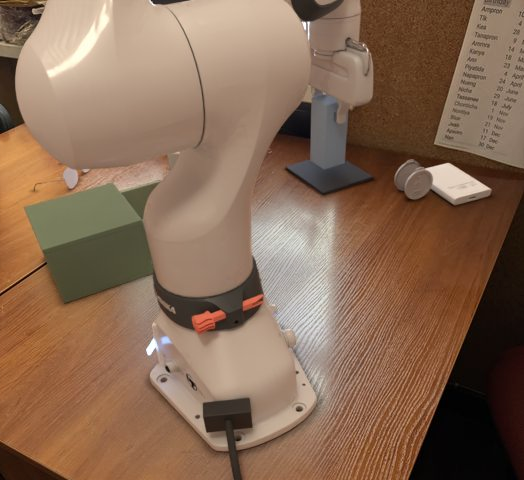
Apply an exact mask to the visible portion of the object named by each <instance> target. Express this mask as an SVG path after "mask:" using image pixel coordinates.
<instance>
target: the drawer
mask: <svg viewBox="0 0 524 480" xmlns="http://www.w3.org/2000/svg"><path fill="white" fill-rule="evenodd" d="M167 175H168V174H165V177H166V176H167ZM161 181H162V180H161V179H157V180H154V181H151V182H147V183H143V184H139V185H136V186H132V187H128V188H125V189H122V190H119V191H120V192H121V194H122V195H123V196H124V198H125V199H126V200H127V202H128V203H129V204H130V205H131V207H132V208H133V209H134V211H135V212H136V213H137V215H138V216H139V217H140V219H141V220H142V223H143V215H144V210H145V205H146V202H147V200H148V197H149V195H150V194H151V192H152V191H153V189H154V188H155V187H156V186H157V185H158V184H159V183H160V182H161ZM143 228H144V224H143ZM144 232H145V229H144ZM145 236H146V233H145ZM146 240H147V237H146ZM147 244H148V241H147ZM148 248H149V245H148ZM149 252H150V249H149ZM150 256H151V254H150ZM151 260H152V258H151Z"/></svg>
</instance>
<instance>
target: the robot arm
mask: <svg viewBox="0 0 524 480" xmlns="http://www.w3.org/2000/svg"><path fill="white" fill-rule="evenodd" d="M361 16H362V5H361V0H185V1H179V2H173V3H168V4H161V3H158V4H157V3H155V4H154V3H153V1H151V0H46V3H45V5H44V9H43V12H42V14H41V16H40V19H39V21H38V23H37V25H36V26H35V28H34V30H33V31H32V33H31V34H30V36H29V37H28V38H27V39H26V41H25V42H24V44H23V47H22V48H21V50H20V54H19V56H18V59H17V63H16V68H15V76H14V85H15V87H14V88H15V96H16V101H17V105H18V108H19V112H20V115H21V117H22V119H23V122H24V124H25V126H26V128H27V129H28V131H29V133H30V135H31V136H32V137H33V138H34V140H35V142H37V143H38V145H39V147H41V148H42V149H43V150H44V152H46V153H47V154H48V155H49V156H50V157H52V158H53V159H54V160H55V161H57V162H58V163H60V164H62V165H63V166H64V167H66V168H67V167H68V168H70V169H73V170H77V171H79V170H81V171H82V170H83V169H90V170H102V169H103V170H104V169H113V168H114V169H115V168H127V167H131V166H133V165H137V164H141V163H144V162H147V161H153V160H155V159H158V158H161V157H165V156H167V155H169V154H173V153H176V152H180V154H179V156H178V159H177V161H176V163H175V165H174V166H173V168H172V170H171V171H170V170H169V172H168V173H167V174H166V175H167V176H166V175H165V177H164V178H163V179H162V180H161V182H160V183H159V184H158V185H157V186H156V187H155V188H154V189H153V191H152V192H151V194H150V195H149V197H148V200H147V202H146V205H145V210H144V215H143V224H144V229H145V233H146V237H147V241H148V245H149V249H150V254H151V258H152V264H153V269H154V271H153V274H152V282H153V284H152V285H153V292H154V295H155V297H156V300H157V303H158V306H159V308H158V310H157V313H156V315H155V318H154V320H153V322H152V324H151V331H152V337H153V338H152V340H151V342H150V344H149V345H148V346H147V348H146V353H147V356H151V355H152V353H153V351H154V350H155V352H156V355H157V356H156V357H157V361H158V362H157V363H156V364H155V366H154V367H153V368H152V369H151V371H150V372H149V381H150V383H151V385H152V386H153V387H154V388H155V390H157V392H159V393H160V395H161V396H162V397H163V398H164V399H165V400H166V401H167V402H168V403H169V404H170V405H171V406H172V408H173V409H175V411H176V412H177V413H178V414H179V415H180V416H181V417H182V418H183V419H184V420H185V421H186V422H187V423H188V425H189V426H191V428H192V429H193V430H194V431H195V432H196V433H197V434H198V435H199V436H200V437H201V439H202V440H203V441H204V442H205V443H206V444H207V445H208V446H209V447H210V448H211V449H212V450H214V451H216V452H228V456H229V461H230V467H231V472H232V478H233V480H243V477H242V473H241V472H242V471H241V467H240V462H239V461H240V460H239V456H238V451H242V450H246V449H250V448H253V447H256V446H259V445H262V444H264V443H267V442H270V441H271V440H273V439H275V438H277V437H280V436H282V435H283V434H285V433H287V432H289V431H290V430H292V429H294V428H295V427H297V426H298V425H299V424H301V423H302V422H303V421H305V420H306V419H308V417H309V416H310V415H311V414H312V412H313V411H314V409H315V408H316V406H317V405H318V397H317V394H316V392H315V390H314V388H313V386H312V384H311V383H310V380H309V378H308V377H307V374H306V373H305V371H304V369H303V367H302V365H301V363H300V361H299V360H298V357H297V356H296V354H295V352H294V350H293V347H295V346H296V345H297V339H296V338H297V337H296V334H295V332H294V330H293V328H290V327H289V328H285V329H282V327H281V325H280V324H279V323H278V321H277V319H276V317H275V316H277V315H278V314H279V311H278V307H277V305H276V304H275V303H273V304H269V302H268V299H267V297H266V295H265V293H264V288H263V285H262V277H261V274H260V271H259V267H258V264H257V260H256V259H255V256H254V255H253V239H252V238H253V237H252V236H253V235H252V208H253V207H252V205H253V197H254V193H255V192H254V191H255V188H256V185H257V184H256V183H257V180H258V177H259V174H260V171H261V168H262V165H263V163H264V160H265V158H266V156H267V153H268V151H269V149H270V147H271V145H272V143H273V142H274V140H275V138H276V136H277V134H278V132H279V131H280V130H281V129H282V128H281V127H282V126H283V125H284V124H285V122H286V121H288V119H289V118H290V116H291V115H292V114H293V113H294V112H295V111H296V110H297V109H298V108H299V106H300V105H301V103H302V102H303V100H304V98H305V96H306V93H307V90H308V89H309V88H308V87H309V86H310V93H311V96H312V98H313V97H317V96H321V95H324V93H325V94H328V95H331V96H333V97H335V98H337V104H338V105H339V107H338V110H337V112H334V122H336V123H338V124H341V123H344V122H345V121H346V113H347V111H348V112H349V109H350V108H351V106H352V107H360V106H364V105H368V104H369V103H370V102H371V101H372V99H373V95H374V63H373V59H372V53H371V52H370V49H369V48H368V45H367V44H366V43H365V42H363V41H360V30H361V18H362V17H361ZM237 440H238V441H237Z"/></svg>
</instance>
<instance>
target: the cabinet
mask: <svg viewBox="0 0 524 480" xmlns="http://www.w3.org/2000/svg"><path fill="white" fill-rule="evenodd" d="M120 191H121V190H120V189H119V188H118V187H117V185H116V184H115V183H114V182H110V183H105V184H103V185H99V186H94V187H92V188H88V189H84V190H81V191H77V192H73V193H70V194H66V195H62V196H59V197H55V198H51V199H49V200H48V199H47V200H44V201H40V202H37V203H33V204H30V205H29V204H28V205H25V206H23V209H24V212H25V214H26V216H27V219H28V222H29V224H30V226H31V228H32V231H33V233H34V235H35V238H36V240H37V243H38V245H39V248H40V250H41V253H42V255H43V257H44V260H45V262H46V264H47V266H48V269H49V272H50V274H51V275H52V278H53V281H54V282H55V285H56V288H57V290H58V293H59V295H60V298H61V300H62V302H63V304H67V303H70V302H73V301H76V300H79V299H82V298H86V297H87V296H91V295H93V294H97V293H100V292H103V291H106V290H109V289H111V288H114V287H118V286H120V285H123V284H126V283H129V282H132V281H135V280H138V279H140V278H144V277H146V276H150V275H153V271H154V266H153V262H152V260H151V256H150V252H149V248H148V244H147V240H146V236H145V232H144V228H143V223H142V220H141V219H140V217H139V216H138V215H137V213H136V212H135V211H134V209H133V208H132V207H131V205H130V204H129V203H128V202H127V200H126V199H125V198H124V196H123V195H122V194H121V192H120Z"/></svg>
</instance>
